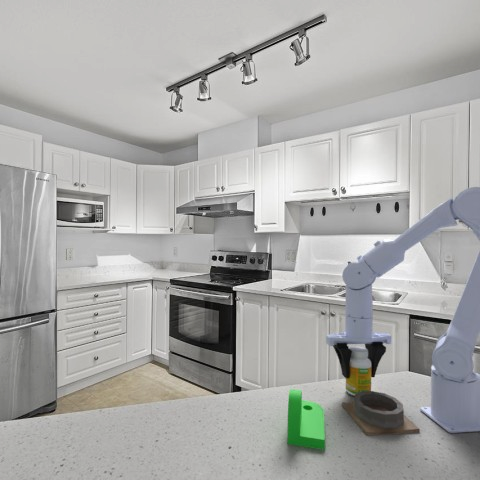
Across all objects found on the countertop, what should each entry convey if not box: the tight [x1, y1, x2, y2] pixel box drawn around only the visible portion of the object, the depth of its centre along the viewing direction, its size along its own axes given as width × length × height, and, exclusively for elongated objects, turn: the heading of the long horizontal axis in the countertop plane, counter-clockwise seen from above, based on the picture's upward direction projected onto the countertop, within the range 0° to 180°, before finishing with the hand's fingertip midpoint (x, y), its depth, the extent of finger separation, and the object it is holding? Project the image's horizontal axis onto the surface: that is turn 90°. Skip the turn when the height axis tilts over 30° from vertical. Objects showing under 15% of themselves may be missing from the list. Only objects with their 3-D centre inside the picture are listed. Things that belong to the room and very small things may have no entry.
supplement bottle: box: [345, 345, 372, 397], centre depth 71 cm, size 5×5×10 cm
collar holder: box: [341, 390, 421, 436], centre depth 61 cm, size 10×10×3 cm
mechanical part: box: [287, 388, 326, 451], centre depth 58 cm, size 12×6×8 cm, turn 166°
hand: (358, 375), depth 71 cm, fingers closed on supplement bottle, 5 cm apart
